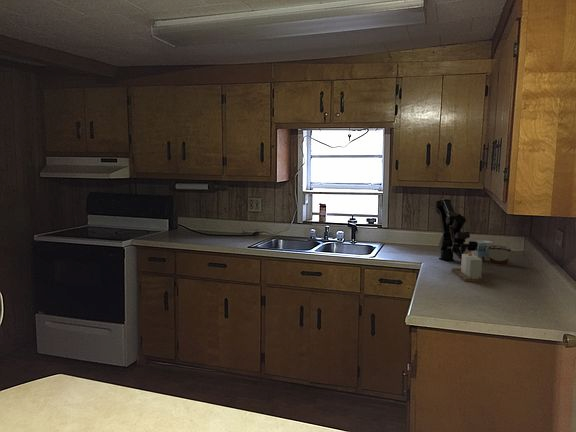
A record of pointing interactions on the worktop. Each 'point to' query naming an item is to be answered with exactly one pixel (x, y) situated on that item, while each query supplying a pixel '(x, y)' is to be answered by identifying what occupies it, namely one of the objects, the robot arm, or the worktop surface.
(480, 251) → the light bulb box
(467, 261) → the block
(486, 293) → the worktop surface
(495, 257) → the food container
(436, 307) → the worktop surface
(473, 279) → the rail board
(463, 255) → the block
